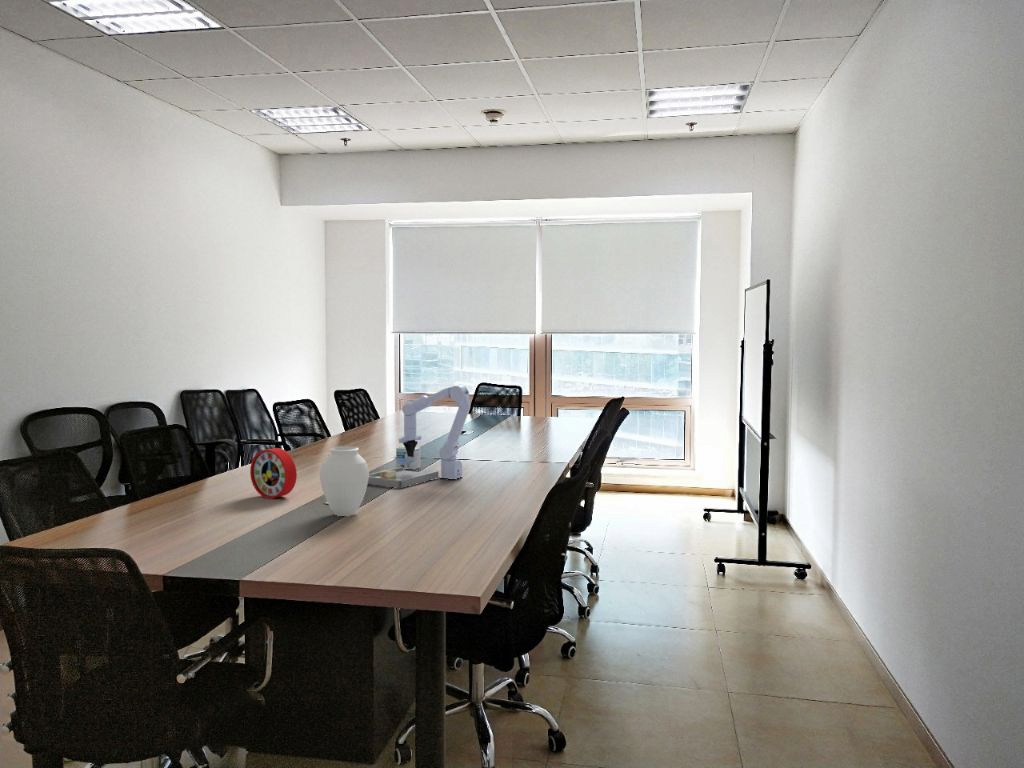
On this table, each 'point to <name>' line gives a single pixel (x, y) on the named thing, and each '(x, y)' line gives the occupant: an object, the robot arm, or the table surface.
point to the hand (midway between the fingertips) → (410, 456)
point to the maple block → (388, 474)
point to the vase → (344, 480)
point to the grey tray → (401, 478)
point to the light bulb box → (407, 458)
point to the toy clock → (273, 473)
